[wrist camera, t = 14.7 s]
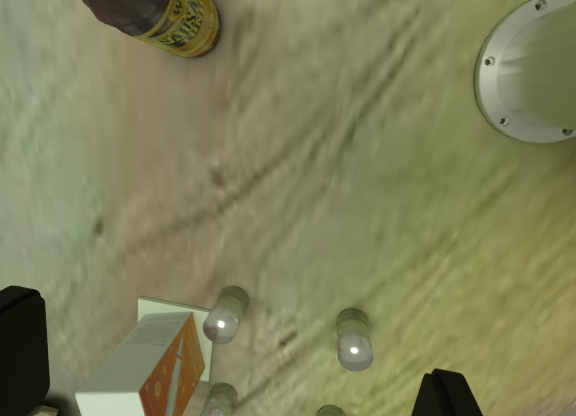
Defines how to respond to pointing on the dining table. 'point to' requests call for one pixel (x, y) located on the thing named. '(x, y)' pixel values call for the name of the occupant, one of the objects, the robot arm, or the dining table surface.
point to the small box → (147, 370)
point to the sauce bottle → (163, 22)
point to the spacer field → (226, 322)
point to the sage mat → (199, 316)
